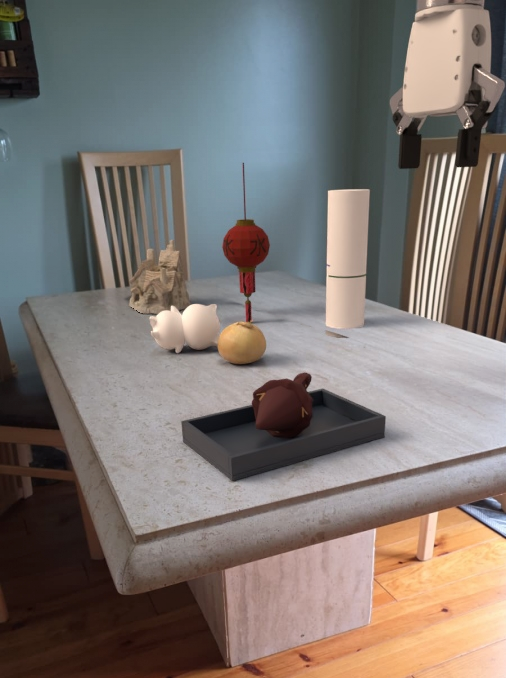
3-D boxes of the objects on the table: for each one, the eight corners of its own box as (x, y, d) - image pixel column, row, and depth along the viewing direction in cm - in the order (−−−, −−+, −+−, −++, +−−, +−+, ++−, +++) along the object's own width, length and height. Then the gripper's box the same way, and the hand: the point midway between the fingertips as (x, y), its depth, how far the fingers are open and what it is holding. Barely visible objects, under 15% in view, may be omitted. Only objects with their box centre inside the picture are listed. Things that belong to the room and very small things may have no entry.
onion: (211, 367, 100) (209, 323, 97) (226, 353, 107) (224, 312, 104) (259, 369, 98) (258, 324, 95) (271, 355, 105) (271, 313, 102)
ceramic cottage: (147, 297, 156) (140, 235, 149) (203, 304, 149) (199, 239, 142) (108, 314, 144) (98, 247, 137) (167, 322, 137) (161, 252, 130)
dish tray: (384, 437, 72) (386, 416, 71) (232, 481, 63) (231, 458, 62) (322, 406, 82) (322, 388, 81) (182, 441, 73) (180, 421, 72)
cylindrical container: (355, 327, 122) (360, 189, 111) (369, 335, 115) (376, 189, 105) (320, 330, 120) (322, 190, 110) (332, 339, 114) (336, 191, 104)
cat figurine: (146, 298, 105) (217, 292, 106) (152, 320, 115) (216, 314, 116) (152, 348, 104) (223, 341, 105) (157, 366, 114) (222, 359, 115)
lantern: (241, 330, 122) (234, 162, 110) (217, 322, 130) (208, 163, 117) (280, 323, 127) (278, 161, 114) (255, 315, 134) (251, 162, 122)
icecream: (299, 408, 62) (339, 377, 75) (233, 383, 64) (283, 357, 77) (281, 468, 65) (323, 428, 78) (219, 442, 67) (270, 407, 80)
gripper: (537, -13, 65) (514, 165, 73) (419, 21, 79) (409, 168, 86) (487, -21, 62) (468, 167, 69) (374, 16, 76) (367, 169, 83)
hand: (436, 167), depth 78 cm, fingers open, 9 cm apart
